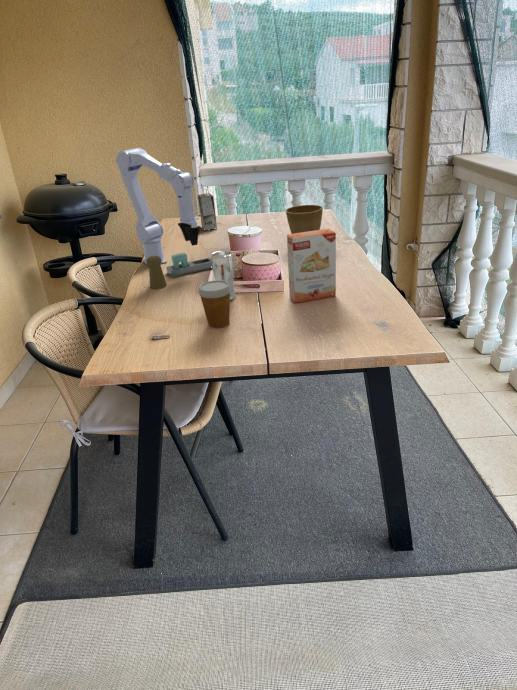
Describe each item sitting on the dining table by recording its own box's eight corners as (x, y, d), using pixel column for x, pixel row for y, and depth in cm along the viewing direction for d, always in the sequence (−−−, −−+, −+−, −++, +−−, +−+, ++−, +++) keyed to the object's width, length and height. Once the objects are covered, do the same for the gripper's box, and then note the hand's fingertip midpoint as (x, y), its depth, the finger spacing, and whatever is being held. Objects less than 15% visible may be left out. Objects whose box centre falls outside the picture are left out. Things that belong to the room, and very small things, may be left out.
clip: (174, 273, 199) (171, 255, 196) (187, 270, 201) (184, 252, 198) (176, 274, 197) (173, 257, 194) (189, 271, 199) (186, 254, 196)
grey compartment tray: (167, 273, 200) (166, 266, 199) (210, 263, 206) (210, 257, 205) (172, 277, 195) (170, 270, 194) (216, 267, 201) (215, 261, 200)
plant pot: (323, 241, 221) (322, 203, 214) (323, 251, 208) (322, 211, 201) (288, 243, 223) (286, 205, 216) (286, 253, 210) (284, 213, 202)
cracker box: (295, 304, 162) (292, 238, 153) (289, 297, 167) (285, 233, 158) (337, 296, 165) (336, 231, 155) (329, 290, 170) (328, 227, 161)
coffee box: (217, 229, 254) (213, 195, 247) (205, 231, 253) (200, 197, 245) (213, 225, 262) (209, 192, 255) (201, 227, 261) (196, 194, 253)
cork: (163, 288, 184) (158, 259, 179) (147, 289, 185) (141, 259, 180) (169, 282, 189) (164, 253, 184) (153, 283, 191) (148, 254, 186)
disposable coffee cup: (218, 314, 159) (213, 277, 154) (241, 321, 154) (237, 282, 148) (196, 326, 153) (190, 288, 148) (219, 333, 147) (214, 293, 142)
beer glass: (240, 294, 174) (235, 250, 167) (232, 302, 168) (227, 257, 161) (221, 293, 176) (215, 250, 169) (212, 300, 170) (207, 256, 163)
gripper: (202, 208, 188) (207, 245, 194) (190, 202, 200) (195, 236, 206) (184, 211, 185) (189, 248, 191) (172, 205, 197) (178, 240, 203)
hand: (191, 242), depth 198 cm, fingers open, 7 cm apart
